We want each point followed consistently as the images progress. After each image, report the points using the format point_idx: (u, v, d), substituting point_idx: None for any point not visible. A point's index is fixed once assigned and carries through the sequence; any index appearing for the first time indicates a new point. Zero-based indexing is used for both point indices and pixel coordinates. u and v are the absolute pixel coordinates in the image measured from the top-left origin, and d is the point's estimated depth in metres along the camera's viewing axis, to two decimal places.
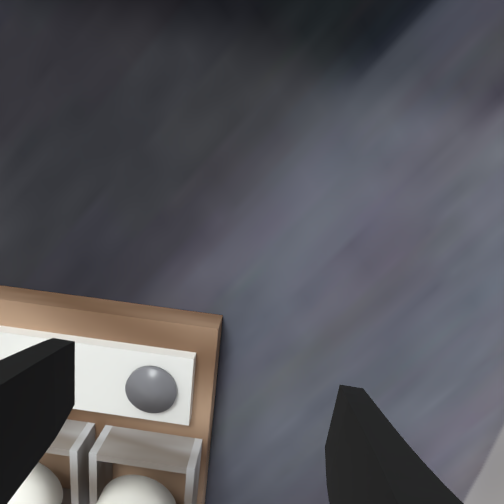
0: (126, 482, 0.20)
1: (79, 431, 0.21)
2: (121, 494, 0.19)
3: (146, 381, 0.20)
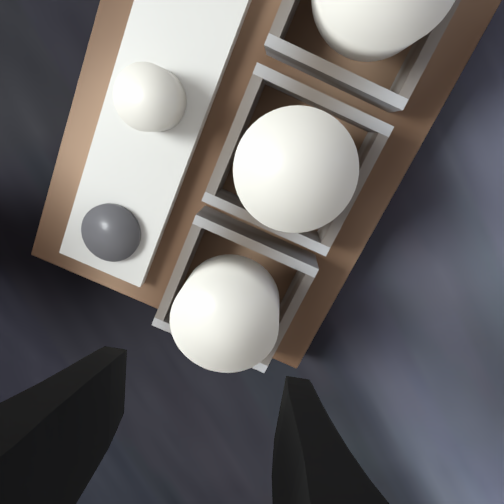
0: None
1: None
2: None
3: None
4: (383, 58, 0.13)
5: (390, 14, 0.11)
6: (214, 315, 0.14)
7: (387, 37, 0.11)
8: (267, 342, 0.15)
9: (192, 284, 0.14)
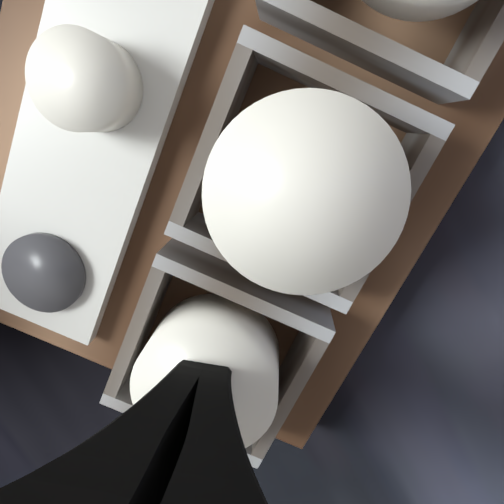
0: None
1: None
2: None
3: None
4: (445, 14, 0.08)
5: None
6: None
7: None
8: (262, 418, 0.11)
9: (159, 342, 0.10)
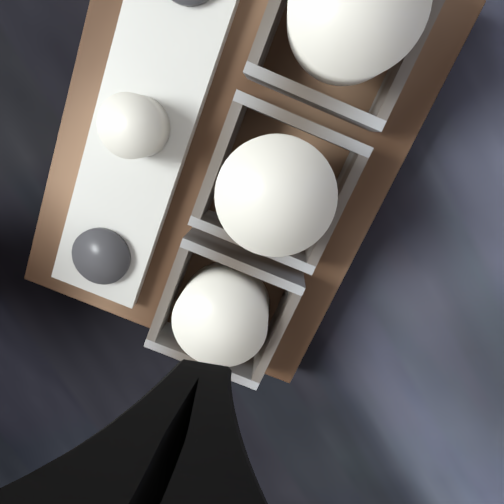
0: None
1: None
2: None
3: None
4: (359, 83, 0.14)
5: (361, 44, 0.12)
6: (210, 317, 0.16)
7: (359, 66, 0.12)
8: (258, 339, 0.17)
9: (190, 289, 0.16)
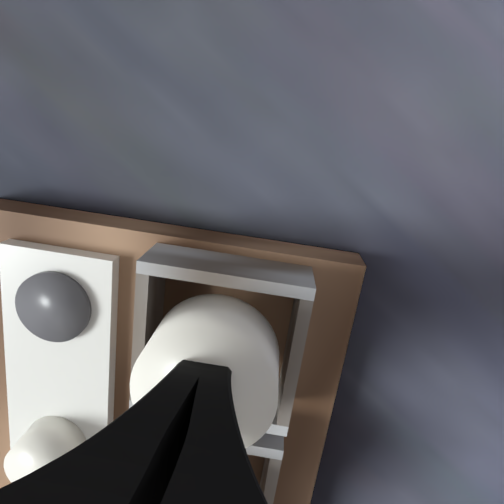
0: None
1: None
2: None
3: (35, 312, 0.14)
4: None
5: None
6: None
7: None
8: None
9: None
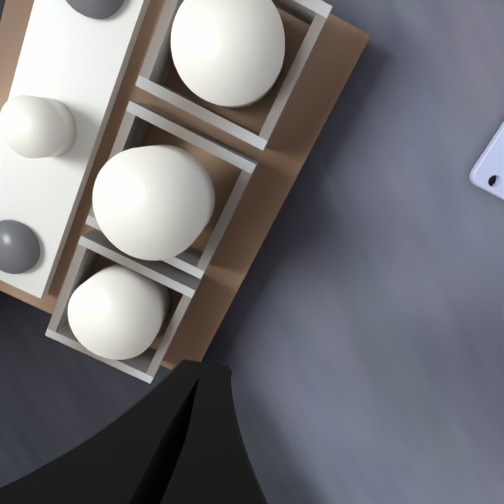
0: None
1: None
2: None
3: None
4: (243, 106, 0.16)
5: (229, 78, 0.14)
6: (103, 311, 0.17)
7: (228, 96, 0.14)
8: (148, 335, 0.18)
9: (85, 285, 0.17)
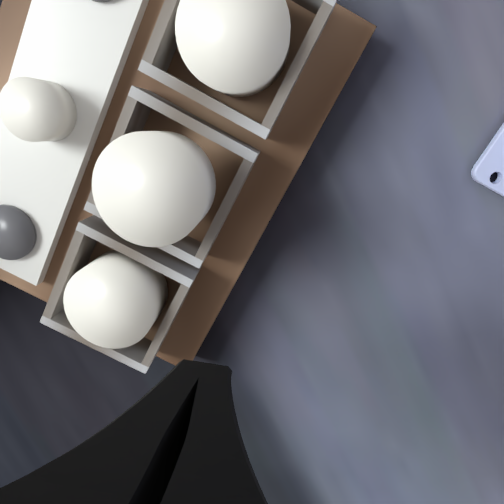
0: None
1: None
2: None
3: None
4: (246, 95, 0.16)
5: (233, 65, 0.14)
6: (100, 299, 0.17)
7: (232, 82, 0.14)
8: (144, 324, 0.17)
9: (81, 271, 0.17)
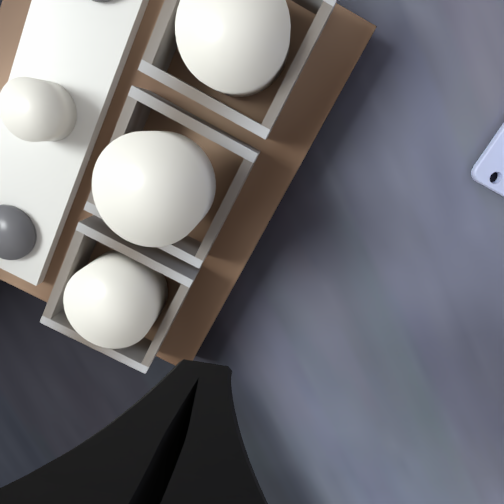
0: None
1: None
2: None
3: None
4: (246, 95, 0.16)
5: (233, 65, 0.14)
6: (100, 299, 0.17)
7: (232, 82, 0.14)
8: (144, 324, 0.17)
9: (81, 271, 0.17)
